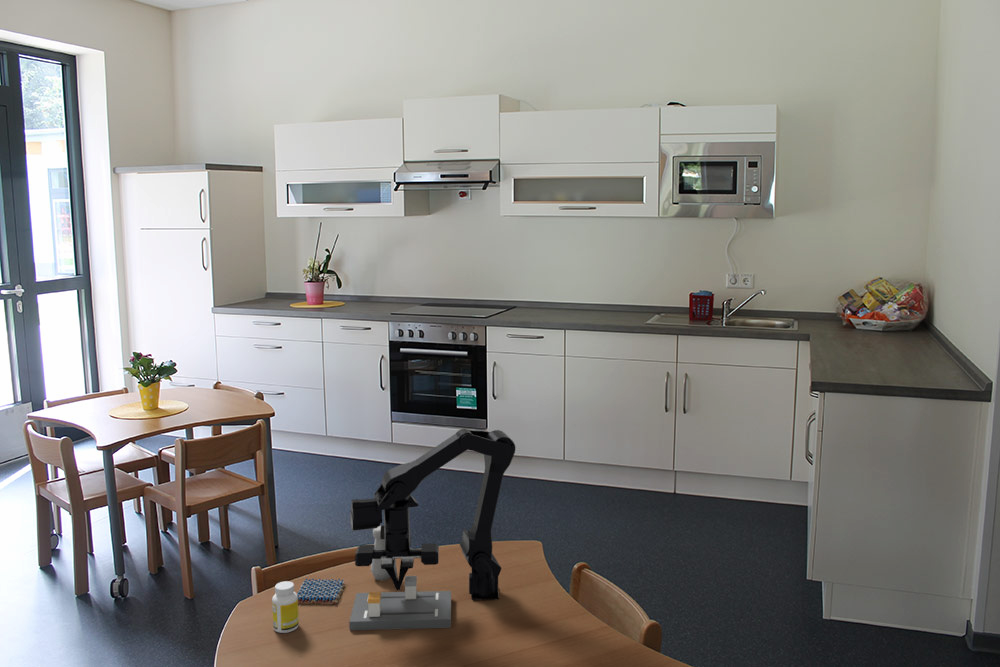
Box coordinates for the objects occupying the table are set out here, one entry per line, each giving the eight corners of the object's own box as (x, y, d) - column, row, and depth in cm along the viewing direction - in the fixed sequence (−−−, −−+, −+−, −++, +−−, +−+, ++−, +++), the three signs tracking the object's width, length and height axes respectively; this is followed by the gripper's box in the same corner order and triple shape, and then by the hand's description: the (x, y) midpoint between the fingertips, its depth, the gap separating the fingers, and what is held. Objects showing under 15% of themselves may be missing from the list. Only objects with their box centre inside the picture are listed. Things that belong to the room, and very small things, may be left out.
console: (451, 598, 189) (451, 590, 189) (450, 627, 176) (450, 619, 176) (356, 600, 188) (356, 592, 187) (349, 630, 175) (349, 621, 175)
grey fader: (416, 592, 187) (416, 575, 187) (416, 599, 184) (416, 582, 184) (405, 592, 187) (405, 575, 187) (404, 599, 184) (404, 582, 183)
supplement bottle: (303, 623, 178) (302, 581, 176) (289, 635, 173) (288, 593, 171) (282, 619, 180) (280, 577, 178) (268, 631, 174) (266, 588, 173)
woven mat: (346, 585, 197) (346, 577, 196) (337, 606, 186) (337, 598, 186) (304, 584, 197) (303, 577, 196) (292, 606, 186) (292, 598, 186)
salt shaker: (396, 572, 202) (395, 523, 200) (391, 582, 197) (390, 532, 195) (373, 571, 203) (372, 522, 201) (368, 581, 197) (366, 531, 195)
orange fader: (381, 609, 180) (381, 591, 179) (380, 616, 176) (379, 598, 176) (369, 609, 179) (369, 592, 179) (368, 617, 176) (367, 599, 176)
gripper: (438, 510, 191) (439, 572, 194) (359, 512, 190) (361, 574, 193) (437, 529, 180) (438, 595, 183) (353, 531, 179) (355, 597, 182)
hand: (398, 589), depth 185 cm, fingers closed
